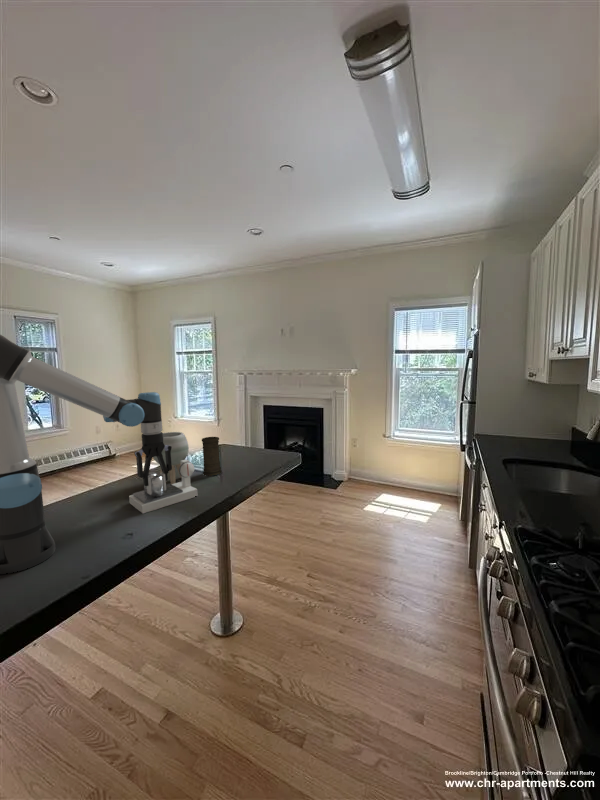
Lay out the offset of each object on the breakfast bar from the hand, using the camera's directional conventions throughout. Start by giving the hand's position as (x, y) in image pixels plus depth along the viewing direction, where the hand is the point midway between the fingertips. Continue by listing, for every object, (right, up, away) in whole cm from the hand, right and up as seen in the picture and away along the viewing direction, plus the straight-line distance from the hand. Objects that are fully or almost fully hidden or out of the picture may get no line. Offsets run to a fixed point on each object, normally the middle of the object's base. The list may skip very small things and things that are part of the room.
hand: (156, 491), depth 132 cm
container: (+12, -1, +37) cm, 39 cm away
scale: (+1, -5, +5) cm, 7 cm away
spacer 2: (0, -1, 0) cm, 1 cm away
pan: (-1, -2, +4) cm, 4 cm away
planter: (-4, -3, +27) cm, 28 cm away
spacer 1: (-4, -1, +4) cm, 6 cm away
